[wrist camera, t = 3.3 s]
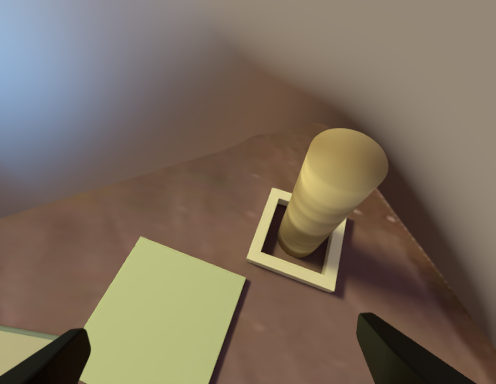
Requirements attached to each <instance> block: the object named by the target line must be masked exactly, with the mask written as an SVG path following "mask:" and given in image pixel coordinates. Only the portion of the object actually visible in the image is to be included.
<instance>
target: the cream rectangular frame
mask: <svg viewBox="0 0 496 384" xmlns="http://www.w3.org/2000/svg"><path fill="white" fill-rule="evenodd" d="M291 196H292V194H291V193H288V192H285V191H282V190H279V189H275V188H272V190H271V193H270V196H269V199H268V201H267V204H266V207H265V209H264V212H263V215H262V218H261V220H260V223H259V226H258V228H257V231H256V234H255V237H254V239H253V242H252V245H251V247H250V250H249V253H248V255H247V258H246V261H247V262H250V263H252V264H255V265H258V266H260V267H263V268H265V269H268V270H271V271H273V272H276V273H279V274H281V275H284V276H287V277H289V278H292V279H294V280H297V281H300V282H302V283H305V284H308V285H310V286H313V287H315V288H318V289H321V290H323V291H326V292H329V293H331V292H334V290H335V284H336V278H337V272H338V266H339V260H340V254H341V248H342V242H343V236H344V230H345V224H346V219H345V220H344V221H343V222H342V223H341V224H340V225H339V226H338V227H337V228H336V229H335V230H334V231H333V232H332V233H331V234H330V235H329V240H328V245H327V250H326V255H325V260H324V265H323V270H322V274H319V273H317V272H314V271H311V270H308V269H306V268H303V267H300V266H298V265H295V264H292V263H289V262H287V261H284V260H281V259H279V258H276V257H273V256H271V255H268V254H265V253H262V252H261V250H262V247H263V244H264V241H265V238H266V235H267V232H268V229H269V226H270V223H271V221H272V218H273V215H274V212H275V209H276V206H277V203H278V204H281V205H284V206H288V204H289V201H290V198H291Z"/></svg>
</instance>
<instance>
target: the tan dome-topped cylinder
mask: <svg viewBox="0 0 496 384" xmlns="http://www.w3.org/2000/svg"><path fill="white" fill-rule="evenodd" d="M387 172H388V161H387V157H386V155H385V153H384V152H383V150H382V148H381V147H380V146H379V145H378V144H377V143H376V142H375V141H374V140H372V139H371V138H370V137H368V136H366V135H364V134H362V133H360V132H357V131H354V130H350V129H339V128H338V129H330V130H327V131H324V132H322V133H320V134H319V135H317V136H316V137H315V138H314V139H313V141H312V142H311V145H310V147H309V150H308V153H307V155H306V158H305V161H304V163H303V166H302V169H301V171H300V174H299V177H298V179H297V182H296V185H295V188H294V190H293V193H292V196H291V198H290V201H289V204H288V206H287V209H286V212H285V214H284V217H283V220H282V222H281V225H280V228H279V231H278V242H279V245H280V247H281V248H282V249H283V251H285V252H286V253H287V254H289V255H290V256H293V257H298V258H301V257H306V256H308V255H310V254H311V253H312V252H313V251H314V250H315V249H316V248H317V247H318V246H319V245H320V244H321V243H322V242H323V241H324V240H325V239H326V238H327V237H328V236H329V235H330V234H331V233H332V232H333V231H334V230H335V229H336V228H337V227H338V226H339V225H340V224H341V223H342V222H343V221H344V220H345V219H346V218H347V217H348V216H349V215H350V214H351V213H352V212H353V211H354V210H355V209H356V208H357V207H358V205H359V204H360V203H361V202H362V201H363V200H364V199H365V198H366V197H367V196H368V195H369V194H370V193H371V192H372V191H373V190H374V189H375V188H376V187H377V186H378V185H379V184H380V183H381V182H382V181H383V180H384V178H385V177H386V175H387Z"/></svg>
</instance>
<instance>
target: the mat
mask: <svg viewBox="0 0 496 384" xmlns="http://www.w3.org/2000/svg"><path fill="white" fill-rule="evenodd" d="M245 280H246V278H245V277H243V276H240V275H237V274H235V273H232V272H230V271H227V270H225V269H222V268H220V267H217V266H215V265H212V264H209V263H207V262H204V261H202V260H199V259H197V258H194V257H192V256H189V255H187V254H184V253H181V252H179V251H176V250H174V249H171V248H169V247H166V246H164V245H161V244H159V243H156V242H153V241H151V240H148V239H146V238H143V237H140V239H139V240H138V242H137V243H136V245H135V247H134V248H133V250H132V251H131V253H130V255H129V256H128V258H127V259H126V261H125V263H124V264H123V266H122V267H121V269H120V271H119V272H118V274H117V275H116V277H115V279H114V280H113V282H112V283H111V285H110V287H109V288H108V290H107V291H106V293H105V294H104V296H103V298H102V299H101V301H100V302H99V304H98V306H97V307H96V309H95V310H94V312H93V314H92V315H91V317H90V318H89V320H88V322H87V323H86V325H85V326H84V329H86V330H87V333H88V337H89V341H90V345H91V354H90V357H89V359H88V361H87V364H86V366H85V368H84V370H83V373H82V375H81V377H80V379H79V380H81V381H83V382H85V383H87V384H209V381H210V378H211V375H212V373H213V370H214V367H215V364H216V361H217V359H218V356H219V353H220V350H221V347H222V344H223V342H224V339H225V336H226V333H227V330H228V328H229V325H230V322H231V319H232V316H233V313H234V311H235V308H236V305H237V302H238V299H239V296H240V294H241V291H242V288H243V285H244V282H245Z"/></svg>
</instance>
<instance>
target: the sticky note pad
mask: <svg viewBox="0 0 496 384" xmlns="http://www.w3.org/2000/svg"><path fill="white" fill-rule="evenodd" d="M58 337H60V336H58V335H52V334H47V333H41V332H35V331H30V330H24V329H19V328H13V327H8V326H2V325H0V376H1V375H2V374H4V373H5V372H7V371H8V370H10V369H11V368H13V367H14V366H16V365H17V364H19V363H20V362H22V361H23V360H25V359H26V358H28V357H29V356H31V355H32V354H34V353H36V352H37V351H39V350H40V349H42V348H43V347H45V346H46V345H48V344H49V343H51V342H52V341H54V340H55V339H57V338H58Z"/></svg>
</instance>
